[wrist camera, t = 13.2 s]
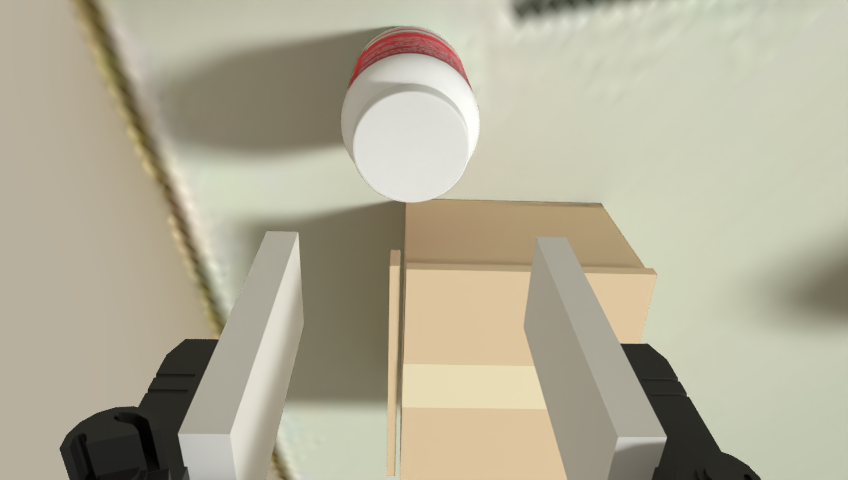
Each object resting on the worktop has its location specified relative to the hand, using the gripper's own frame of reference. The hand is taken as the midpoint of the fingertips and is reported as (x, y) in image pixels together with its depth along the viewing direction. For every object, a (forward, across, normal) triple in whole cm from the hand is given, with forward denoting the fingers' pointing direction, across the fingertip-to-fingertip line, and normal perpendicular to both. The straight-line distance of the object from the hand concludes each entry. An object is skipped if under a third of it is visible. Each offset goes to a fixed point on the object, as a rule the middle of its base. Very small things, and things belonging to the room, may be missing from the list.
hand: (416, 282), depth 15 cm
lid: (+14, +6, -14) cm, 21 cm away
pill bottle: (+21, 0, 0) cm, 21 cm away
